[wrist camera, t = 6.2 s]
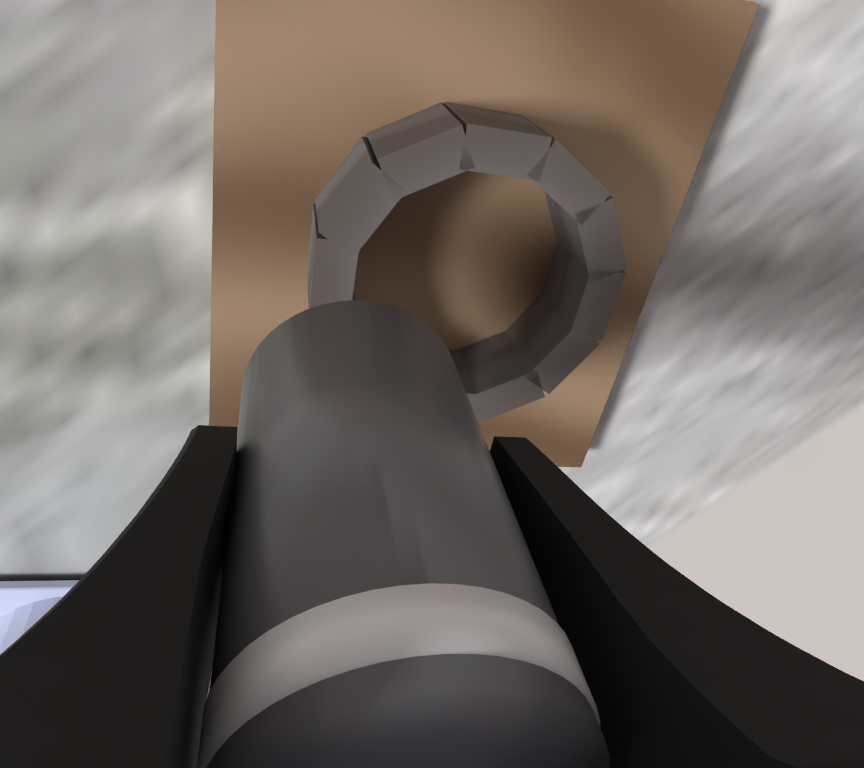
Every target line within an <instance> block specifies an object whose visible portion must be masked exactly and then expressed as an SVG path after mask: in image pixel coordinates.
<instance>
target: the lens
mask: <svg viewBox="0 0 864 768" xmlns="http://www.w3.org/2000/svg"><path fill="white" fill-rule="evenodd" d="M197 768H610V755H609V751H608V747H607V744H606V742H605V739H604V737H603V734H602V732H601V729H600V718H599V714H598V710H597V707H596V704H595V702H594V699H593V697H592V694H591V692H590V690H589V687H588V685H587V682H586V680H585V677H584V675H583V672H582V670H581V667H580V665H579V662H578V660H577V657H576V655H575V653H574V650H573V648H572V645H571V643H570V641H569V639H568V638H567V636H566V634H565V632H564V631H563V630H562V628H561V627H560V626H559V624H558V621H557V619H556V616H555V614H554V611H553V609H552V606H551V604H550V601H549V599H548V596H547V594H546V591H545V589H544V586H543V584H542V581H541V579H540V576H539V574H538V571H537V569H536V566H535V564H534V561H533V559H532V556H531V554H530V551H529V549H528V546H527V544H526V541H525V539H524V536H523V534H522V531H521V529H520V526H519V524H518V521H517V519H516V516H515V514H514V511H513V509H512V506H511V504H510V501H509V499H508V496H507V494H506V491H505V489H504V486H503V484H502V481H501V479H500V476H499V474H498V471H497V469H496V466H495V464H494V461H493V459H492V456H491V454H490V451H489V449H488V446H487V444H486V441H485V439H484V436H483V434H482V431H481V429H480V426H479V424H478V421H477V419H476V416H475V414H474V411H473V409H472V406H471V404H470V401H469V399H468V396H467V394H466V391H465V389H464V386H463V384H462V381H461V379H460V376H459V373H458V371H457V368H456V366H455V363H454V361H453V358H452V356H451V354H450V352H449V350H448V348H447V346H446V345H445V343H444V342H443V341H442V339H441V338H440V336H439V335H438V334H437V333H436V332H435V331H434V330H433V329H432V328H431V327H430V326H428V325H427V324H426V323H425V322H423V321H422V320H421V319H419V318H417V317H416V316H414V315H412V314H411V313H409V312H407V311H404V310H402V309H399V308H397V307H394V306H391V305H387V304H383V303H379V302H372V301H360V300H348V301H337V302H332V303H327V304H322V305H319V306H316V307H313V308H310V309H307V310H304V311H302V312H300V313H298V314H296V315H294V316H292V317H291V318H289V319H287V320H286V321H284V322H283V323H281V324H280V325H279V326H277V327H276V328H275V329H274V330H273V331H272V332H270V333H269V334H268V335H267V336H266V337H265V339H264V340H263V341H262V342H261V343H260V344H259V346H258V347H257V349H256V350H255V352H254V353H253V355H252V356H251V359H250V361H249V363H248V365H247V367H246V370H245V374H244V377H243V383H242V391H241V401H240V410H239V420H238V429H237V453H236V463H235V473H234V483H233V492H232V499H231V505H230V511H229V517H228V525H227V534H226V543H225V553H224V562H223V572H222V581H221V590H220V600H219V609H218V619H217V628H216V638H215V647H214V657H213V666H212V676H211V685H210V692H209V694H208V697H207V700H206V703H205V706H204V710H203V718H202V727H201V736H200V745H199V754H198V763H197Z"/></svg>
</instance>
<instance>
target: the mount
mask: <svg viewBox="0 0 864 768" xmlns="http://www.w3.org/2000/svg"><path fill="white" fill-rule="evenodd" d="M758 6H759V4H756V3H752V2H748V1H744V0H216V36H215V100H214V164H213V228H212V291H211V355H210V419H209V426H231V427H237V429H238V420H239V410H240V401H241V391H242V383H243V377H244V374H245V370H246V367H247V365H248V363H249V361H250V359H251V356H252V355H253V353H254V352H255V350H256V349H257V347H258V346H259V344H260V343H261V342H262V341H263V340H264V339H265V337H266V336H267V335H268V334H269V333H270V332H272V331H273V330H274V329H275V328H276V327H277V326H279V325H280V324H281V323H283V322H284V321H286V320H287V319H289V318H291V317H292V316H294V315H296V314H298V313H300V312H302V311H304V310H307V309H310V308H313V307H316V306H319V305H322V304H327V303H332V302H337V301H348V300H360V301H372V302H379V303H383V304H387V305H391V306H394V307H397V308H399V309H402V310H404V311H407V312H409V313H411V314H412V315H414V316H416V317H417V318H419V319H421V320H422V321H423V322H425V323H426V324H427V325H428V326H430V327H431V328H432V329H433V330H434V331H435V332H436V333H437V334H438V335H439V336H440V338H441V339H442V341H443V342H444V343H445V345H446V346H447V348H448V350H449V352H450V354H451V356H452V358H453V361H454V363H455V366H456V368H457V371H458V373H459V376H460V379H461V381H462V384H463V386H464V389H465V391H466V394H467V396H468V399H469V401H470V404H471V406H472V409H473V411H474V414H475V416H476V419H477V421H478V424H479V426H480V429H481V431H482V434H483V436H484V439H485V441H486V444H487V446H488V449H489V451H490V449H491V445H492V442H493V438H494V436H499V437H526V438H527V439H528V440H529V441H530V442H531V443H533V444H534V445H535V446H536V447H537V448H538V449H539V450H540V451H541V452H542V453H544V454H545V455H546V456H547V457H548V458H549V459H550V460H551V461H552V462H553V463H554V464H555V465H556V466H558V467H581V466H582V464H583V461H584V459H585V456H586V453H587V451H588V448H589V446H590V443H591V440H592V438H593V435H594V433H595V430H596V427H597V425H598V422H599V420H600V417H601V414H602V412H603V409H604V407H605V404H606V401H607V399H608V396H609V394H610V391H611V388H612V386H613V383H614V381H615V378H616V375H617V373H618V370H619V368H620V365H621V362H622V360H623V357H624V355H625V352H626V349H627V347H628V344H629V342H630V339H631V336H632V334H633V331H634V329H635V326H636V324H637V321H638V318H639V316H640V313H641V311H642V308H643V305H644V303H645V300H646V298H647V295H648V292H649V290H650V287H651V285H652V282H653V279H654V277H655V274H656V272H657V269H658V266H659V264H660V261H661V259H662V256H663V253H664V251H665V248H666V246H667V243H668V240H669V238H670V235H671V233H672V230H673V227H674V225H675V222H676V220H677V217H678V214H679V212H680V209H681V207H682V204H683V201H684V199H685V196H686V194H687V191H688V188H689V186H690V183H691V181H692V178H693V175H694V173H695V170H696V168H697V165H698V162H699V160H700V157H701V155H702V152H703V149H704V147H705V144H706V142H707V139H708V136H709V134H710V131H711V129H712V126H713V123H714V121H715V118H716V116H717V113H718V110H719V108H720V105H721V103H722V100H723V97H724V95H725V92H726V90H727V87H728V84H729V82H730V79H731V77H732V74H733V71H734V69H735V66H736V64H737V61H738V58H739V56H740V53H741V51H742V48H743V45H744V43H745V40H746V38H747V35H748V32H749V30H750V27H751V25H752V22H753V19H754V17H755V14H756V12H757V9H758Z"/></svg>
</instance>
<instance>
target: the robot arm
mask: <svg viewBox="0 0 864 768" xmlns="http://www.w3.org/2000/svg"><path fill="white" fill-rule="evenodd" d="M236 453H237V427H231V426H204V425H198V426H197V427H196V428H194V429H193V430H192V431H191V432H190V434H189V437H188V439H187V441H186V442H185V444H184V446H183V448H182V450H181V451H180V453H179V455H178V456H177V458H176V460H175V461H174V463H173V464H172V466H171V467H170V469H169V470H168V472H167V473H166V475H165V477H164V478H163V479H162V481H161V482H160V484H159V485H158V486H157V488H156V489H155V491H154V492H153V493H152V495H151V496H150V497H149V499H148V500H147V502H146V503H145V504H144V506H143V507H142V508H141V510H140V511H139V512H138V514H137V515H136V516H135V517H134V519H133V520H132V521H131V522H130V523H129V525H128V526H127V527H126V528H125V529H124V531H123V532H122V533H121V534H120V535H119V537H118V538H117V539H116V540H115V541H114V543H113V544H112V545H111V546H110V547H109V549H108V550H107V551H106V552H105V553H104V554H103V555H102V557H101V558H100V559H99V560H98V561H97V562H96V563H95V564H94V565H93V566H92V568H91V569H90V570H89V571H88V572H87V573H86V574H85V575H84V576H83V577H82V578H81V579H80V580H57V581H0V768H197V763H198V754H199V745H200V736H201V727H202V718H203V710H204V706H205V703H206V697H207V692H208V687H209V681H210V676H211V671H212V666H213V657H214V647H215V638H216V628H217V619H218V609H219V600H220V590H221V581H222V572H223V562H224V553H225V543H226V534H227V525H228V517H229V511H230V505H231V499H232V492H233V483H234V473H235V463H236ZM490 454H491V456H492V459H493V461H494V464H495V466H496V469H497V471H498V474H499V476H500V479H501V481H502V484H503V486H504V489H505V491H506V494H507V496H508V499H509V501H510V504H511V506H512V509H513V511H514V514H515V516H516V519H517V521H518V524H519V526H520V529H521V531H522V534H523V536H524V539H525V541H526V544H527V546H528V549H529V551H530V554H531V556H532V559H533V561H534V564H535V566H536V569H537V571H538V574H539V576H540V579H541V581H542V584H543V586H544V589H545V591H546V594H547V596H548V599H549V601H550V604H551V606H552V609H553V611H554V614H555V616H556V619H557V621H558V624H559V626H560V627H561V628H562V630H563V631H564V632H565V634H566V636H567V638H568V639H569V641H570V643H571V645H572V648H573V650H574V653H575V655H576V657H577V660H578V662H579V665H580V667H581V670H582V672H583V675H584V677H585V680H586V682H587V685H588V687H589V690H590V692H591V694H592V697H593V699H594V702H595V704H596V707H597V710H598V714H599V718H600V729H601V732H602V734H603V737H604V739H605V742H606V744H607V747H608V751H609V755H610V768H864V681H862V680H859V679H857V678H855V677H853V676H851V675H849V674H847V673H844V672H843V671H841V670H839V669H837V668H835V667H833V666H831V665H829V664H827V663H826V662H824V661H821V660H820V659H818V658H816V657H814V656H812V655H811V654H809V653H807V652H805V651H803V650H801V649H799V648H797V647H795V646H794V645H792V644H790V643H788V642H787V641H785V640H783V639H781V638H779V637H778V636H776V635H774V634H773V633H771V632H769V631H768V630H766V629H764V628H762V627H761V626H759V625H758V624H756V623H754V622H753V621H751V620H750V619H748V618H746V617H745V616H743V615H741V614H740V613H738V612H737V611H735V610H734V609H732V608H730V607H729V606H727V605H725V604H724V603H722V602H721V601H719V600H718V599H716V598H715V597H714V596H712V595H711V594H709V593H708V592H706V591H704V590H703V589H702V588H700V587H699V586H698V585H696V584H695V583H694V582H692V581H691V580H689V579H688V578H687V577H685V576H684V575H682V574H681V573H680V572H678V571H677V570H675V569H674V568H673V567H671V566H670V565H669V564H667V563H666V562H664V561H663V560H662V559H661V558H660V557H658V556H657V555H656V554H654V553H653V552H652V551H651V550H650V549H648V548H647V547H646V546H645V545H644V544H642V543H641V542H640V541H639V540H638V539H636V538H635V537H634V536H633V535H631V534H630V533H629V532H628V531H627V530H625V529H624V528H623V527H622V526H621V525H620V524H619V523H617V522H616V521H615V520H614V519H613V518H612V517H611V516H609V515H608V514H607V513H606V512H605V511H604V510H603V509H602V508H601V507H600V506H598V505H597V504H596V503H595V502H594V501H593V500H592V499H591V498H590V497H589V496H588V495H587V494H585V493H584V492H583V491H582V490H581V489H580V488H579V487H578V486H577V485H576V484H575V483H574V482H573V481H572V480H571V479H570V478H569V477H568V476H567V475H566V474H564V473H563V472H562V471H561V470H560V469H559V468H558V467H557V466H556V465H555V464H554V463H553V462H552V461H551V460H550V459H549V458H548V457H547V456H546V455H545V454H544V453H542V452H541V451H540V450H539V449H538V448H537V447H536V446H535V445H534V444H533V443H531V442H530V441H529V440H528V439H527V438H526V437H499V436H494V438H493V442H492V445H491V449H490Z"/></svg>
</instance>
